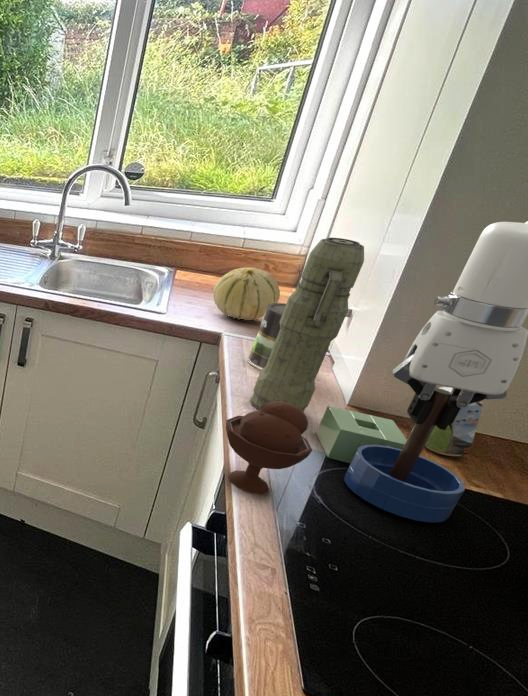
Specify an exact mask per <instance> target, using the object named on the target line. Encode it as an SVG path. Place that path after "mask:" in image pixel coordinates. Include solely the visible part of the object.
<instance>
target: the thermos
mask: <svg viewBox="0 0 528 696" xmlns="http://www.w3.org/2000/svg"><path fill="white" fill-rule="evenodd" d="M364 263H365V246H364V244H361V243H360V242H359V241H356V240H352V239H347V238H340V237H326V238H322V239H320V240H319V241H318V243H316V245H315V246H314V247H313V248H312V250H311V251H310V252H309V254H308V257H307V260H306V263H305V264H304V267H303V271H302V273H301V275H300V278H301V279H300V282H298V283H297V286H296V289H295V290H294V291H293V292H292V293H291V294H290V296H289V297H288V299H287V301H286V303H285V304H286V306H285V309H284V311H283V314H282V317H281V319H280V322H279V323H280V330H279V333H278V336H277V338H276V341H275V344H274V346H273V349H272V351H271V354H270V357H269V359H268V362H267V364H266V366H265V367H264V368H263V369H262V370H260V371H259V374H258V376H257V379H256V382H255V384H254V387H253V389H252V390H253V394H252V396H251V397H250V400H249V402H250V404H251V406H253V407H254V408H255V409H256V410H257V411H258V410H259V408H260V406H262V405H264V404H266V403H268V402H273V401H282V402H287V403H290V404H292V405H294V406H296V407H298V408H299V409H300V410H302V411H303V413H304V412H305V410H306V408H308V407H309V405H310V402H311V400H312V398H313V395H314V392H315V390H316V386H315V383H316V382H315V381H316V378H317V376H318V374H319V372H320V370H321V367H322V364H323V362H324V360H325V358H326V356H327V353H328V350H329V348H330V345H331V343H332V341H334V339H336V338H337V337H338V336H339V333H340V330H341V328H342V326H343V323H344V321H345V318H346V316H347V314H348V312H349V298H350V295H351V293H350V292H351V289H353V288H354V286H355V284H356V282H357V279H358V277H359V275H360V272H361V270H362V267H363V264H364ZM304 414H305V413H304Z"/></svg>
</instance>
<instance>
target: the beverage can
mask: <svg viewBox="0 0 528 696" xmlns="http://www.w3.org/2000/svg"><path fill="white" fill-rule="evenodd" d="M438 388H439V389H443V390H446V391H449V392H450V393H451V391H452V389H453V388H451V387H446V386H440V387H438ZM483 406H484V402H483V400H481V401H478V402H475V403H472V404H469V405H468V406H467V407H466V408H461V409H460V411H459V413H458V414H457V416H456V418H455V420H454V422H453V423H452V424H448V426H447V428H446V430H442V429H439V428H438V427H437V426H436V425H435V427H434V429H433V431H432V433H431V435H430V437H429V439H428V441H427V442H426V444H425V446H424V447H426V448H427V450H429V451H431V452H434V453H436V454H440V455H443V456H448V457H449V456H450V457H462V456H466V455H468V454H470V453H471V451H472V446H473V442H474V439H475V436H476V431H477V428H478V424H479V421H480V417H481V412H482V411H483V410H482V409H483Z"/></svg>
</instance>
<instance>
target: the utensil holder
mask: <svg viewBox="0 0 528 696" xmlns="http://www.w3.org/2000/svg"><path fill="white" fill-rule="evenodd" d="M317 427H318V428H317V430H316V432H315V434H316V436H317V438H318V440H319V442H320V444H321V447H322V448H323V451H324V452H325V455H326V457H327V458H328V459H332V460H335V461H339V462H343V463H347V464H350V463H351V461H352V459H353V457H354V455H355V453H356V451H357V449H358V447H361V446H363V445H382V446H389V447H393V448H397V449H401V450H402V448H403V447H404V445H405V443H406V441H407V439H408V438H406V437H405V435H404V434H403V432H402V430H401V429H400V427H398V425H397V423H395V421H394V420H393V419H389V418H385V417H381V416H376V415H372V414H367V413H362V412H359V411H355V410H354V411H353V410H349V409H345V408H339V407H335V406H331V405H327V407H326V408H325V411H324V413H323V416H322V418H321V421H320V423H319V425H318V426H317Z"/></svg>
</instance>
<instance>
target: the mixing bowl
mask: <svg viewBox="0 0 528 696" xmlns="http://www.w3.org/2000/svg"><path fill="white" fill-rule="evenodd" d="M400 452H401V449H397V448H393V447H389V446H382V445H363V446H361V447H358V449H357V451H356V453H355V455H354V457H353V459H352V461H351V463H349V466H348V468H347V469H346V472H345V474H344V476H343V481H344V482H345V486H346V487H348V488H349V489H350V490H351V491H352V492H353V493H354V494H355V495H356V496H358V497H360V498H361V499H363V500H364V501H366V502H367V503H369V504H371V505H373V506H374V507H377V508H379V509H380V510H383V511H385V512H387V513H390V514H393V515H395V516H399V517H402V518H404V519H405V518H406V519H409V520H411V521H412V520H413V521H417V522H423V523H431V524H432V523H443V522H445V521H446V520H448V519H449V518H450V516H451V514H452V512H453V511H454V509H455V507H456V506H457V504H458V503H459V501H460V499H461V498H462V495H463V494H464V492H465V489H466V488H465V487H466V485H465V483H464V482H463V480H462V479H461V478H460V477H459V476H458V475H457V474H455V473H454V472H452V471H451V470H450V469H448V468H447V467H444V466H443V465H441V464H439V463H437V462H436V461H434V460H432V459H429V458H427V457H424V456H422V455H420V456H419V457H418V459H417V461H416V463H415V465H414V467H413V469H412V471H411V472H410V474H409V476H408V478H407V480H406V482H403V481H400V480H398V479H395V478H393V477H391V476H389V474H390V472H391V470H392V468H393V466H394V464H395V462H396V460H397V458H398V456H399V454H400Z"/></svg>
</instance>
